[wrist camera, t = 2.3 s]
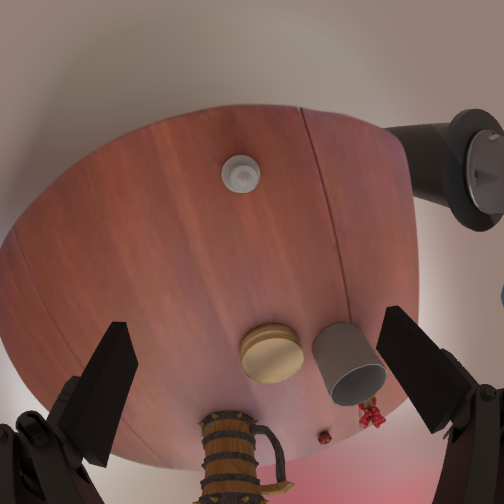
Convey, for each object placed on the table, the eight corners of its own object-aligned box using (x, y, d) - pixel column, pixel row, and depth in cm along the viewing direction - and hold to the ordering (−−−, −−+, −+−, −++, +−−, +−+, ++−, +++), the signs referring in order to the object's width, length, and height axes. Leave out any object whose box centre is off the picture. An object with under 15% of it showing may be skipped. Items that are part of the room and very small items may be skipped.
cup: (331, 315, 39) (356, 358, 29) (370, 329, 41) (398, 368, 31) (302, 357, 41) (318, 403, 32) (341, 367, 43) (361, 409, 33)
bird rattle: (373, 373, 47) (369, 363, 41) (396, 418, 39) (397, 415, 33) (345, 389, 48) (337, 381, 42) (367, 434, 40) (363, 435, 34)
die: (316, 438, 51) (319, 448, 48) (317, 432, 50) (320, 442, 47) (329, 435, 51) (332, 444, 48) (329, 428, 50) (333, 438, 47)
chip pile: (313, 339, 40) (318, 351, 37) (275, 377, 42) (277, 390, 39) (263, 312, 38) (266, 324, 35) (226, 355, 40) (226, 368, 37)
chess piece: (221, 154, 30) (217, 153, 21) (259, 155, 31) (272, 154, 21) (221, 192, 32) (217, 206, 22) (258, 192, 32) (271, 206, 23)
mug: (182, 416, 45) (174, 506, 26) (265, 391, 43) (282, 492, 24) (216, 445, 49) (218, 522, 30) (290, 424, 48) (310, 507, 29)
